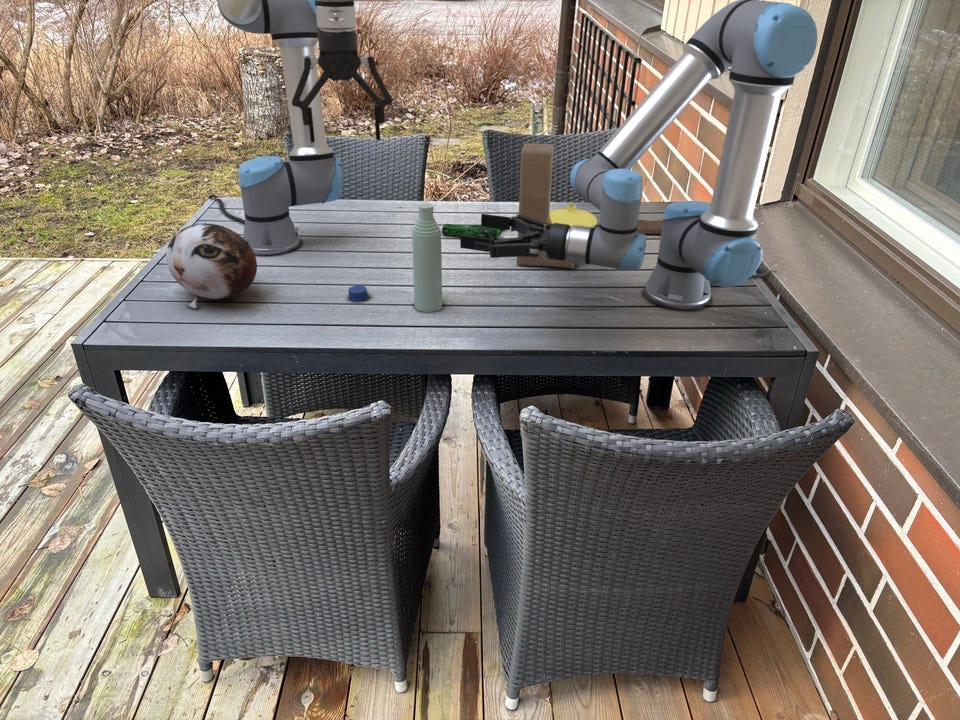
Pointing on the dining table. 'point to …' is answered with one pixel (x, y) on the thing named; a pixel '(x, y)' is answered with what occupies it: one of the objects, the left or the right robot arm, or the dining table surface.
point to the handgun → (471, 231)
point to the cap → (358, 293)
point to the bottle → (427, 261)
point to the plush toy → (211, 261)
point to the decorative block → (537, 195)
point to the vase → (573, 217)
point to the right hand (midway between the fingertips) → (471, 230)
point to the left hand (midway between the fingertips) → (345, 140)
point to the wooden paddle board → (649, 226)
